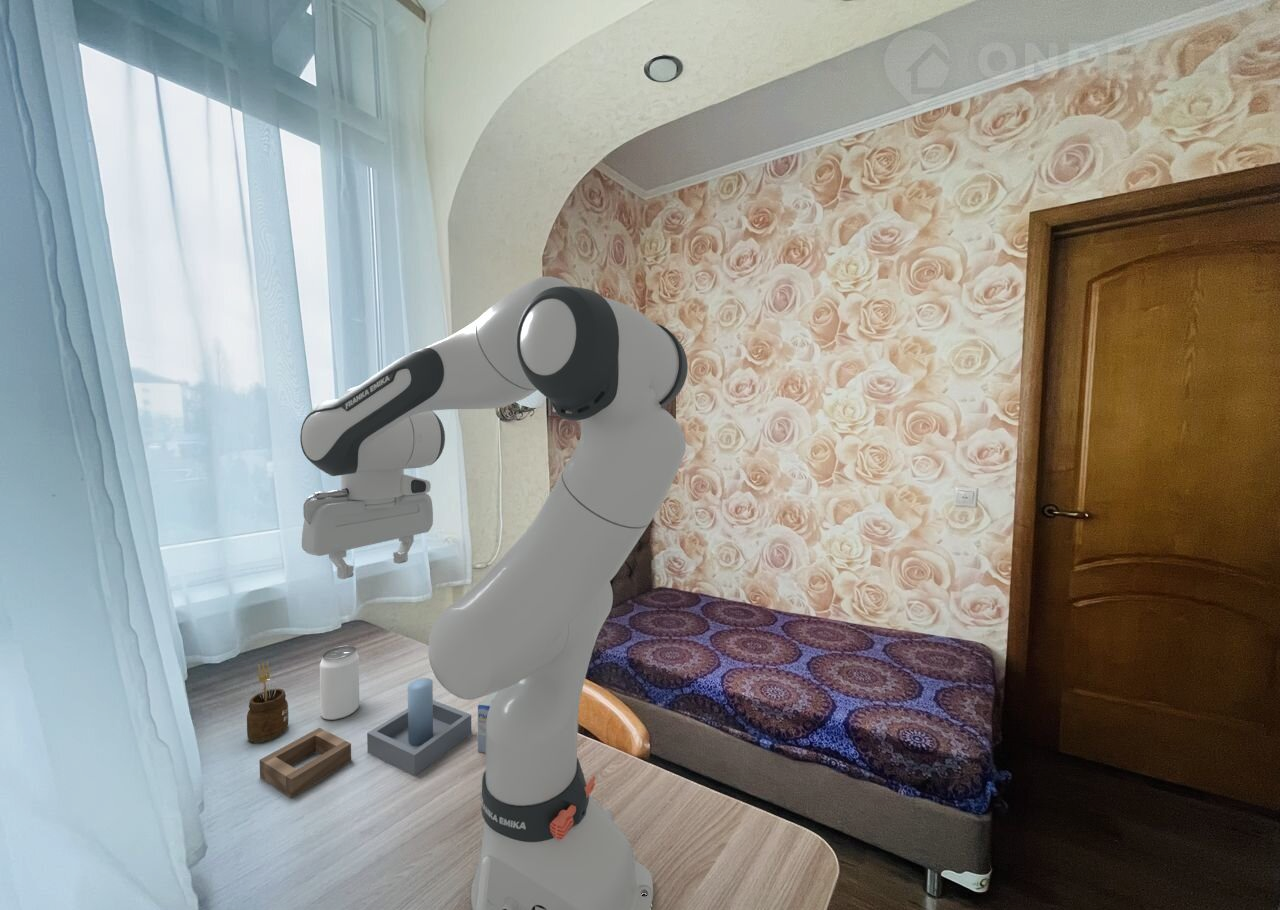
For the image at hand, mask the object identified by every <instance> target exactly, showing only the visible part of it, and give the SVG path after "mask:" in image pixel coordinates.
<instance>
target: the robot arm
mask: <svg viewBox="0 0 1280 910" xmlns="http://www.w3.org/2000/svg"><path fill="white" fill-rule="evenodd" d="M688 367H689V365H688V357H687V354H686V351H685V349H684V346H683V345H682V343H681V342H680V340H678V338H677V337H676V335H674V334H673V332H671V331H670V329H668V328H667V327H665V326H663V325H662V324H660V323H656V322H655V321H653V320H652V319H649V318H648V317H647V316H645V315H644V314H642V312H640V311H639V310H637V309H636V308H635V307H632V306H630V305H627V304H626V303H623V302H620V301H618V300H615V299H613V298H609V297H606V296H602V295H601V294H599V293H598V292H596V291H594V290H593V289H592V290H591V289H589V288H584V287H579V286H573V285H571V284H570V283H569V282H567V281H565V280H564V279H561V278H558V277H555V276H540V277H538V278H535V279H533V280H531V281H528V282H527V283H525V284H523V285H522V286H520V287H518V288H516V289H514V290H513V291H511V292H510V293H509V294H507V295H505V296H504V297H502V298H501V299H500V300H498V301H497V302H495V303H494V304H493V305H491V307H488V309H487V310H486V311H485V312H483V313H482V314H481V315H480V316H478V317H477V318H476V319H475V320H474V321H472V322H471V323H469V324H468V325H466V326H465V327H463V328H462V329H460V330H458V331H457V332H455V333H453V334H451V335H450V336H448V337H445V338H444V339H441V340H439V341H437V342H434V343H433V344H430V345H427V346H426V347H421V348H419V349H417V350H415V351H412V352H410V353H408V354H406V355H404V356H402V357H400V358H398V359H396V360H395V361H393V362H392V363H390V364H389V365H388V366H386V367H384V368H383V369H381V370H380V371H378V372H376V374H374V375H372V376H371V377H370V378H368V379H367V380H365V381H364V382H362V383H361V384H360V385H357V386H354V387H351V388H349V389H347V390H346V391H345V393H344V395H343V396H341V397H339V398H336V399H326V400H324V401H322V402H321V403H319V404H318V405H317V406H316V407H315V408H313V409H312V410H311V411H310V412H309V413H308V414H307V416H306V417H305V418H304V420H303V422H302V426H301V429H300V435H299V436H300V437H299V439H300V446H301V451H302V453H303V454H304V456H305V457H306V459H307V460H308V461H309V462H310V463H311V464H312V465H314V466H315V467H316V468H318V469H319V470H321V471H322V472H323V473H325V474H327V475H329V476H331V477H338V476H340V483H341V484H340V487H341V489H333V490H330V491H324V490H323V491H317V492H314V493H313V495H310V496H308V498H307V499H306V500H305V501H304V502H303V509H302V511H303V512H302V513H303V518H304V519H303V526H302V534H301V536H302V537H301V548H302V550H303V551H304V552H305V553H307V554H308V555H311V556H318V557H322V556H326V555H328V558H329V559H330V560H331V562H332V563H333V564H334V566H335V567H336V569H337V570H336V572H337V573H336V575H337V578H338V579H340V580H346V579H349V578H353V577H354V575H355V574H354V569H355V568H354V565H349V564H347V563H346V561H345V560H344V558H347V551H349V550H353V549H358V548H362V547H363V548H364V547H366V546H371V545H376V544H380V543H384V542H388V541H389V542H390V541H393V540H398V541H399V542H400V545H399V546H398V549H397V551H395V552H393V553H392V555H393V563H395V564H399V565H400V564H404V563H406V562H408V558H409V551H410V550H411V547H412V545H413V543H414V541H415V537H414V536H415V535H421V534H424V533H428V532H429V531H431V528H432V527H433V524H434V511H433V502H432V501H433V500H432V497H431V496H430V495H429V494H428V493H429V492H430V491H431V482H430V480H427V479H423V478H419V477H415V476H411V475H408V474H405V473H404V472H405V470H407V469H409V470H410V469H411V470H412V469H418V468H419V469H420V468H424V467H427V466H428V467H429V466H432V465H433V464H435V462H437V461H438V459H440V457H441V456H442V454H443V451H444V447H445V446H446V445H445V444H446V433H445V427H444V424H443V422H442V421H441V419H440V418H439V416H438V415H437V414H436V413H435V411H441V410H442V411H447V410H489V409H493V410H494V409H500V408H503V407H506V406H509V405H512V404H515V403H517V402H519V401H521V400H524V399H526V398H527V397H529V396H531V395H532V394H534V393H535V392H536V391H538V392H540V393H541V394H542V395H543V396H544V397H545V398H546V399H548V400H549V402H550V404H551V405H552V408H553V409H554V410H555V412H556V413H557V414H558V415H559V416H560V417H561V418H562V419H564V420H567V421H580V424H581V434H580V438H579V441H578V443H577V445H576V447H575V449H574V451H573V453H572V454H571V456H570V458H569V460H568V462H567V463H566V465H565V467H564V468H563V469H562V472H561V474H560V475H559V477H558V479H557V480H556V482H555V484H554V486H553V487H552V490H551V491H550V493H549V494H548V496H547V498H546V499H545V502H544V503H543V505H542V506H541V508H540V510H539V511H538V513H537V515H536V517H535V518H534V520H533V521H532V522H531V525H530V526H529V527H528V528H527V530H525V532H524V533H523V534H522V535H521V537H520V538H519V539H518V540H517V541H515V543H513V545H512V547H511V548H509V550H507V552H506V553H505V554H504V555H502V557H501V558H500V559H499V561H497V562H496V564H495V565H493V567H492V568H491V569H490V570H489V571H488V572H487V573H486V574H485V575H484V576H483V577H482V579H480V581H479V582H477V583H476V584H475V585H474V586H473V587H472V588H471V589H470V590H468V591H467V592H466V593H465V594H464V595H462V596H461V597H460V598H459V599H457V600H456V601H455V602H453V603H452V604H450V605H449V606H448V607H446V608H445V609H443V610H442V611H440V613H439V614H438V615H437V617H436V618H435V620H434V622H433V624H432V627H431V630H430V633H429V638H428V649H427V650H428V652H427V653H428V661H429V665H430V668H431V670H432V674H434V677H435V678H436V680H437V681H438V683H439V684H440V685H441V686H442V687H443V688H444V689H445V690H446V691H448V692H449V693H450V694H451V695H453V696H455V697H457V698H460V699H462V700H466V701H467V700H468V701H470V700H471V701H472V700H476V699H479V698H483V697H487V695H489V694H492V693H495V692H497V691H499V692H498V693H497V695H496V696H495V698H494V700H493V702H492V704H491V706H490V708H489V711H488V714H487V718H486V753H485V770H484V771H483V775H482V779H481V794H480V802H481V815H482V817H483V821H484V822H483V829H482V838H481V845H480V846H481V847H480V852H479V858H478V863H477V867H476V871H475V874H474V877H473V880H472V884H471V891H470V901H471V902H470V903H471V907H472V910H650V908H651V904H652V900H653V901H654V881H653V875H652V872H651V871H650V870H649V869H648V868H647V867H646V866H644V865H643V864H641V863H640V862H639V861H637V860H636V859H635V857H634V851H633V847H632V844H631V841H630V839H629V837H628V835H627V834H626V833H625V831H623V830H622V828H620V826H619V825H618V824H617V823H616V822H615V817H614V814H613V812H612V810H611V809H610V808H608V807H602V806H600V804H599V803H598V802H597V801H596V799H595V798H594V797H593V796H592V795H591V793H592V791H594V788H595V786H596V782H595V780H596V776H595V775H594V776H592V777H591V779H590V780H589V781H588V782H587V781H586V777H585V775H584V773H583V769H582V767H581V764H580V760H579V758H578V735H579V734H578V730H579V711H580V705H581V703H580V702H581V699H582V698H581V697H582V692H583V688H584V684H585V681H586V676H587V672H588V668H589V665H590V662H591V658H592V654H593V650H594V647H595V645H596V642H597V639H598V636H599V633H600V631H601V630H602V627H603V625H604V624H605V622H606V619H607V618H608V617H609V615H610V612H611V610H612V607H613V600H614V593H613V592H614V591H613V588H612V584H611V581H612V580H613V579H614V578H615V576H617V574H618V572H619V571H620V569H621V568H622V566H623V565H624V563H625V562H626V560H627V558H628V557H629V555H630V554H631V553H632V551H633V550H634V548H635V546H636V545H637V543H638V542H639V540H640V538H642V536H643V535H644V532H646V530H647V528H648V527H649V525H650V523H651V522H652V520H653V519H654V517H655V516H656V514H657V512H658V511H659V510H660V508H661V506H662V504H663V502H664V501H665V498H666V497H667V495H668V493H669V491H670V489H671V487H672V485H673V483H674V480H675V478H676V476H677V474H678V472H679V469H680V467H681V464H682V461H683V459H684V456H685V453H686V449H687V448H686V446H687V445H686V444H687V443H686V437H685V433H684V431H683V429H682V427H681V426H680V424H679V422H678V421H677V420H676V419H675V417H674V416H673V415H672V414H671V413H670V412H669V411H667V410H666V409H665V408H664V407H665V406H666V405H668V404H669V403H670V402H673V400H675V398H676V397H677V396H678V395H679V394H680V392H681V391H682V389H683V387H684V385H685V384H686V381H687V380H686V379H687V375H688ZM566 412H568V413H566ZM642 893H646V894H647V896H646V895H643V896H642V895H641V894H642Z"/></svg>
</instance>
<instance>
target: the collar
mask: <svg viewBox="0 0 1280 910" xmlns="http://www.w3.org/2000/svg"><path fill="white" fill-rule="evenodd" d="M315 753H317V754H319V756H317V757H315V758H314V759H312V760H310V761H309V762H307V763H306V764H303V765H302V766H301V767H298V768H295V767H293V766H294V765H296V764H298V763H299V762H301V761H303V760H304V759H306V758H307V757H310V756H311V755H313V754H315ZM350 762H352V743H351V742H349V741H347V740H345V739H343V738H341V737H339V736H337V735H335V734H333V733H332V732H329V731H327V730H325V729H323V728H321V727H318V728H317V729H315V730H313V731H310V732H309V733H307V734H305V735H303V736H302V737H299V738H297V739H295V740H293V741H292V742H290V743H288V744H286V745H285V746H283V747H281V748H278V749H277V750H275V751H274V752H272V753H270V754H268V755H266V756H264V757H262V758H261V759H259V779H261V780H263V781H264V782H266V783H267V784H269V785H270V786H272V787H273V788H275V789H277V790H278V791H280V792H281V793H283V794H284V795H286V796H287V797H289V798H291V799H293V798H294V797H296V796H298V795H300V794H302V792H304V791H306V790H307V789H308V788H310V787H311V786H314V785H315V784H316V783H318V782H320V781H321V780H323V779H325V778H326V777H328V776H329V775H331V774H332V773H334V772H336V771H337V770H338V769H340V768H342V767H343V766H345V765H347V764H348V763H350Z"/></svg>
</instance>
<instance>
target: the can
mask: <svg viewBox="0 0 1280 910" xmlns="http://www.w3.org/2000/svg"><path fill="white" fill-rule="evenodd" d="M321 656H322V658H321V661H320V663H319V693H320V695H319V697H320V700H319V701H320V703H319V704H320V716H321V718H323V719H325V720H327V721H338V720H340V719H344V718H347V717H348V716H350V715H353V713H355V712H356V711H357V710H358V708H359V707H360V657H359V653H358V651H357V648H356V646H353V645H340V646H337V647H333V648H330V649H328V650H326V651H325V652H323V654H322V655H321Z"/></svg>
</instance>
